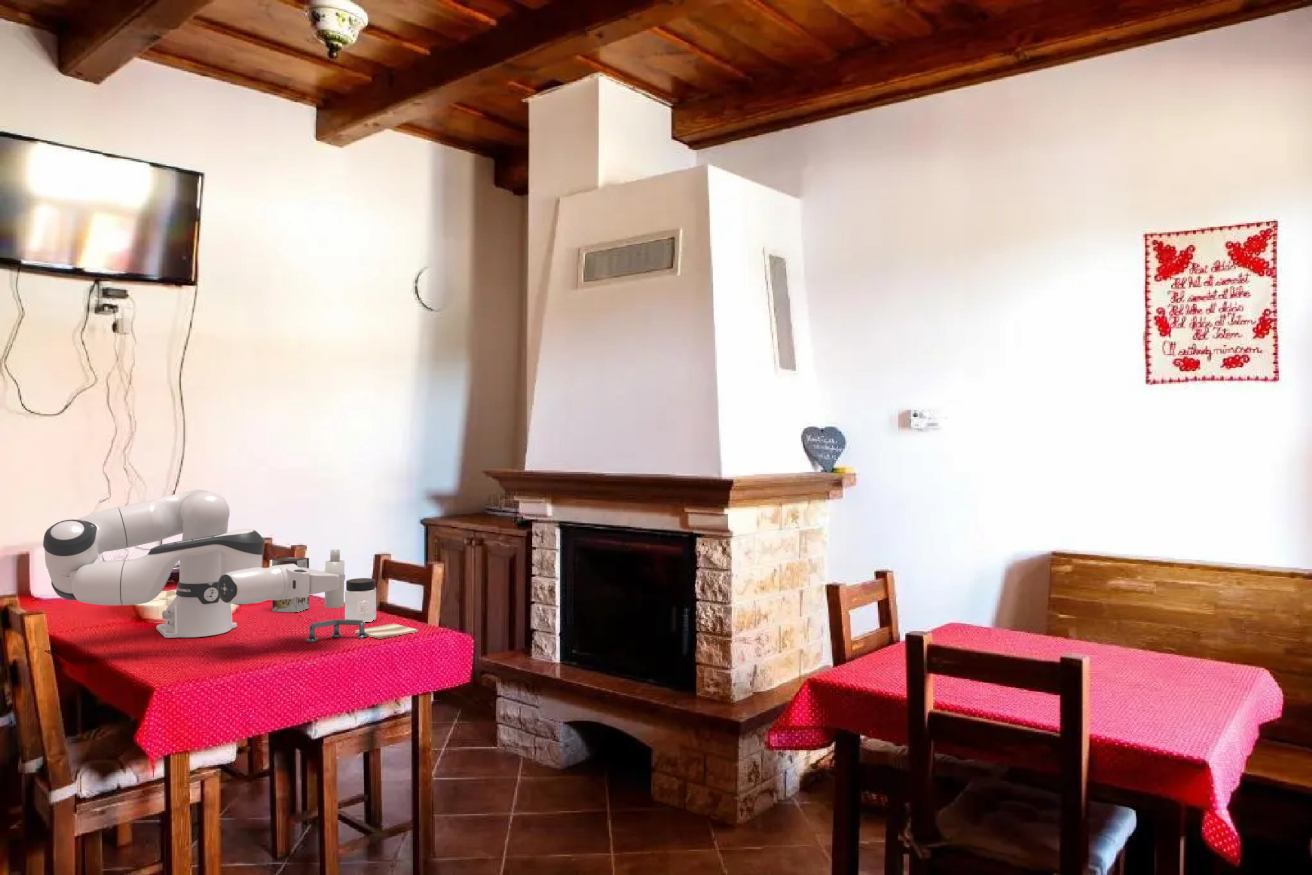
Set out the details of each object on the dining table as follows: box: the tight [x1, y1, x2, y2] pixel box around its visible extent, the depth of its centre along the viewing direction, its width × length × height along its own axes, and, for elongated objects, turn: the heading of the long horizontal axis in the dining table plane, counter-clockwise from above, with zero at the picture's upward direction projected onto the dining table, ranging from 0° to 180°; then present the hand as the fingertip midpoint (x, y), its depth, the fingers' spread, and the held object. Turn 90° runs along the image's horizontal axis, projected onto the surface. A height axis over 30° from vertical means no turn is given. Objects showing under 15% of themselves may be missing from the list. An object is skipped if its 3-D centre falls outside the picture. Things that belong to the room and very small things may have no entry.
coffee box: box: [271, 556, 310, 613], centre depth 275 cm, size 9×6×16 cm
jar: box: [344, 577, 377, 623], centre depth 260 cm, size 9×8×12 cm
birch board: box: [354, 623, 419, 639], centre depth 245 cm, size 12×12×1 cm
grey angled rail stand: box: [306, 618, 368, 643], centre depth 237 cm, size 9×14×5 cm, turn 139°
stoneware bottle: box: [324, 549, 345, 609], centre depth 238 cm, size 5×5×15 cm
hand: (337, 575), depth 239 cm, fingers closed on stoneware bottle, 5 cm apart
